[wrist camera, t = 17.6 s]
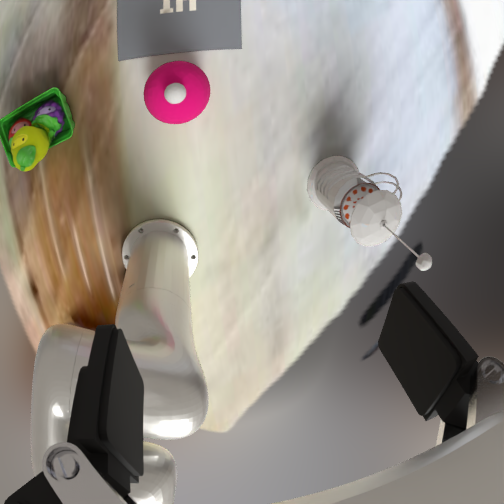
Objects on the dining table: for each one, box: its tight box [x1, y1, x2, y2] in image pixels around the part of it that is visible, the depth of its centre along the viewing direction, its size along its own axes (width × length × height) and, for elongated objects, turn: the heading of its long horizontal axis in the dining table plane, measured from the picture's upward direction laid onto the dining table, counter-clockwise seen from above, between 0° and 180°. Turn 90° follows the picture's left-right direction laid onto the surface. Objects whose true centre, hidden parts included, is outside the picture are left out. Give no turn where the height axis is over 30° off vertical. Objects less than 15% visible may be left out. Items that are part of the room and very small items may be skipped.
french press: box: [307, 156, 432, 271], centre depth 39 cm, size 10×12×25 cm
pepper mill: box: [144, 61, 210, 124], centre depth 30 cm, size 7×7×20 cm
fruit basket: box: [0, 87, 75, 171], centre depth 31 cm, size 11×9×11 cm
